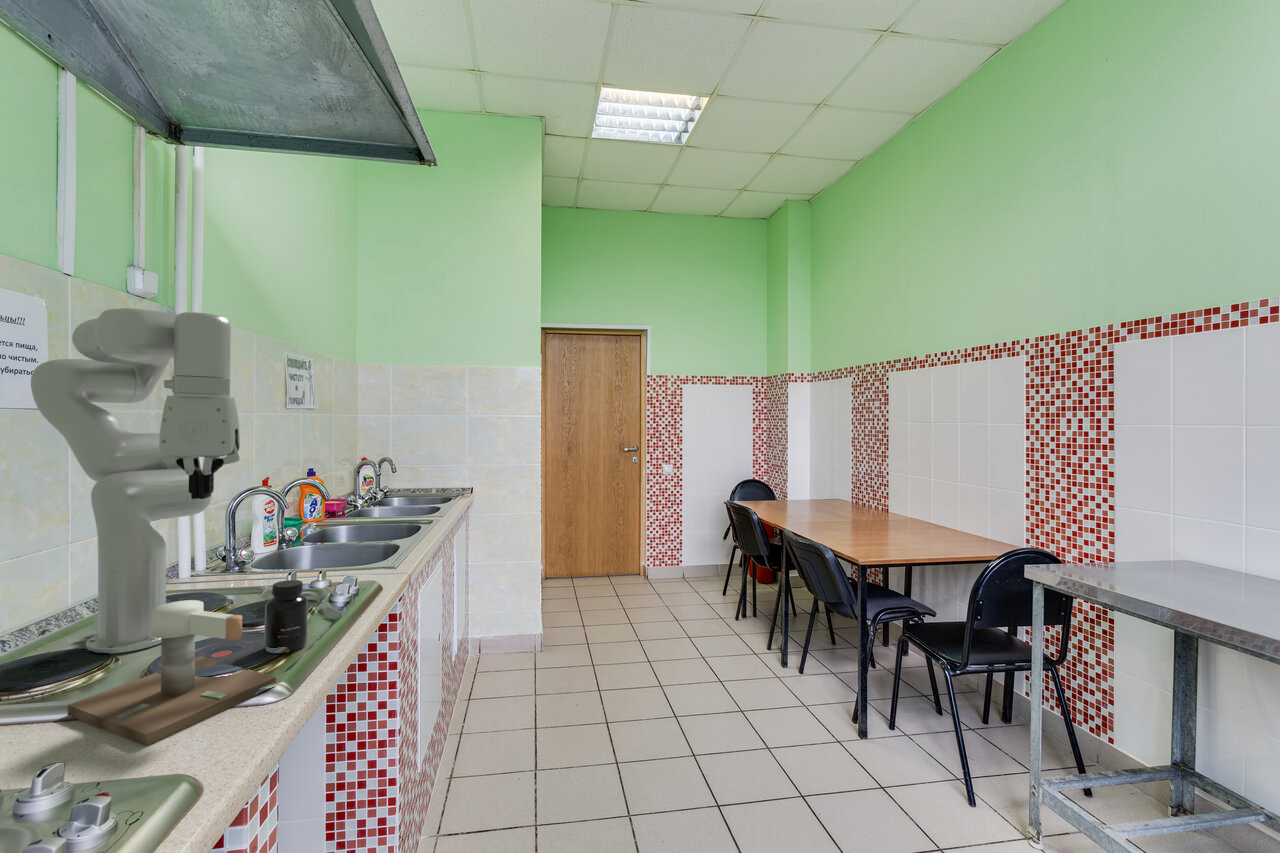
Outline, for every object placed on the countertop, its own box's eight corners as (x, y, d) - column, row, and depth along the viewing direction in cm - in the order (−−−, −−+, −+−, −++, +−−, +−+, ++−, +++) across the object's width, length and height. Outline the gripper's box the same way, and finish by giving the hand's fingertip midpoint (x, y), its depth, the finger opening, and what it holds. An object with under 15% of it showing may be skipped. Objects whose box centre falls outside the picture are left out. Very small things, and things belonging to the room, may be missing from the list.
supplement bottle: (287, 657, 104) (288, 590, 103) (254, 652, 105) (255, 587, 105) (315, 642, 110) (316, 579, 110) (285, 638, 112) (286, 576, 111)
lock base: (67, 715, 83) (67, 643, 82) (201, 664, 100) (202, 604, 99) (146, 745, 76) (147, 668, 76) (275, 686, 93) (276, 622, 93)
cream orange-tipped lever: (141, 635, 85) (142, 611, 85) (181, 621, 91) (181, 598, 91) (220, 647, 82) (221, 621, 82) (256, 631, 88) (257, 608, 88)
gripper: (136, 385, 91) (135, 502, 92) (245, 389, 95) (243, 501, 96) (160, 386, 98) (159, 494, 99) (261, 390, 102) (259, 494, 103)
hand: (201, 497), depth 97 cm, fingers closed
